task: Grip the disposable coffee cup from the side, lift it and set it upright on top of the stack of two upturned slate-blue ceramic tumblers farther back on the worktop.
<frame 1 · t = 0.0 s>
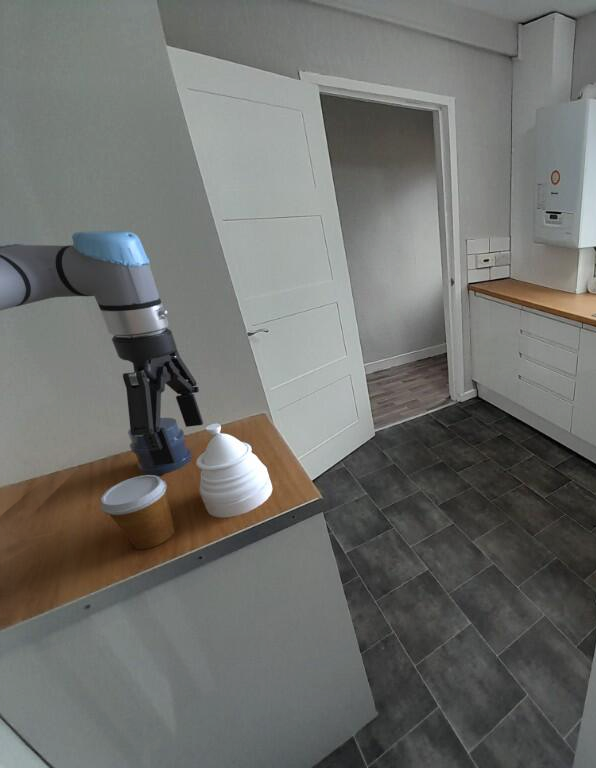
hand: (181, 442, 75), 21 cm above the counter, tool pointing down, fingers open, 13 cm apart
honey pot: (240, 497, 93), on the counter
cup stack: (167, 464, 104), on the counter
disposable coffee cup: (155, 537, 82), on the counter
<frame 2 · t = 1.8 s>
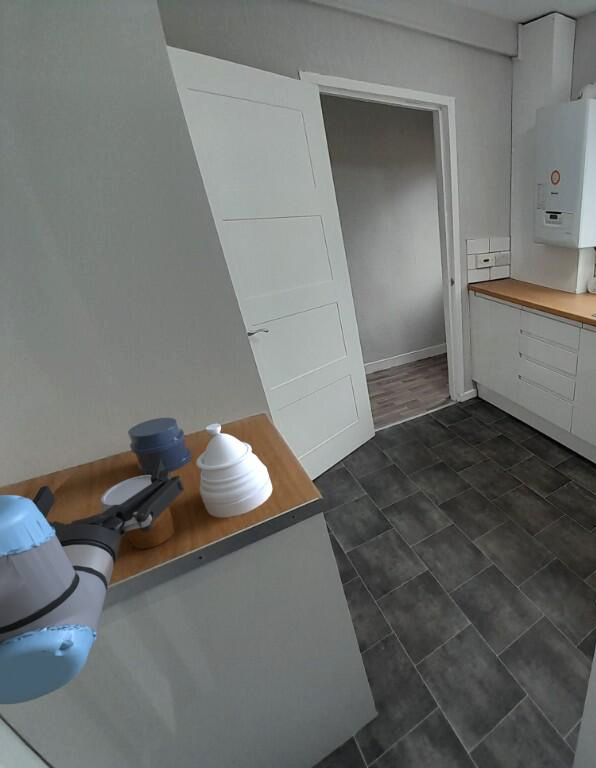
hand: (107, 478, 66), 20 cm above the counter, tool horizontal, fingers open, 13 cm apart
nothing on the counter moved.
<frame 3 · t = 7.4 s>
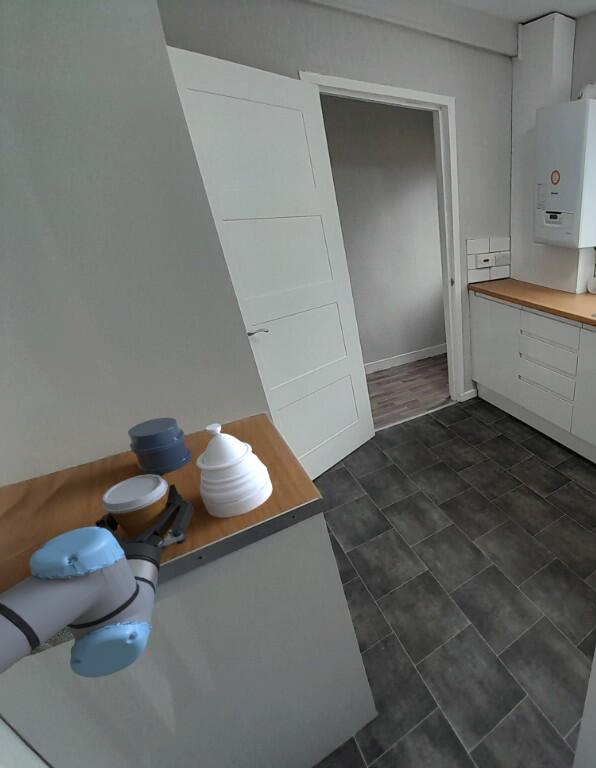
hand: (146, 497, 82), 7 cm above the counter, tool horizontal, fingers closed on disposable coffee cup, 8 cm apart
disposable coffee cup: (155, 537, 82), on the counter, touching gripper
everything else where it was.
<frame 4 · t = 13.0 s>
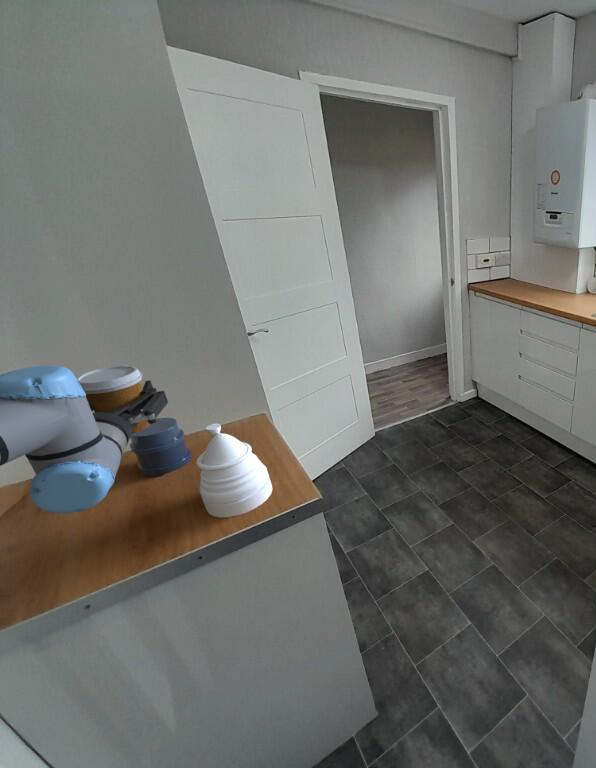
hand: (122, 391, 83), 26 cm above the counter, tool horizontal, fingers closed on disposable coffee cup, 8 cm apart
disposable coffee cup: (130, 429, 82), point 19 cm above the counter, touching gripper
everything else where it was.
when the fingers open (17 cm above the counter, at t = 18.8 s): disposable coffee cup stays where it is, resting on cup stack.
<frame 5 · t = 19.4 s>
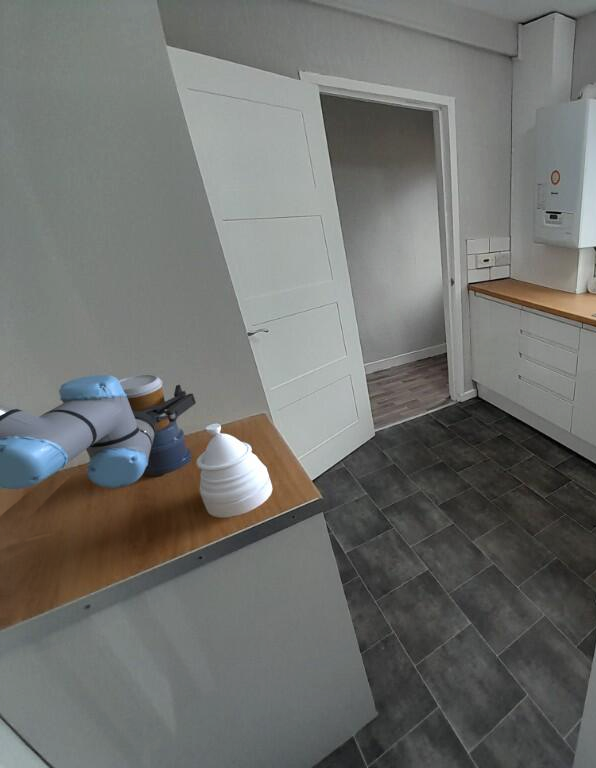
hand: (144, 395, 99), 18 cm above the counter, tool horizontal, fingers open, 13 cm apart
disposable coffee cup: (153, 426, 100), point 11 cm above the counter, touching cup stack
everything else where it was.
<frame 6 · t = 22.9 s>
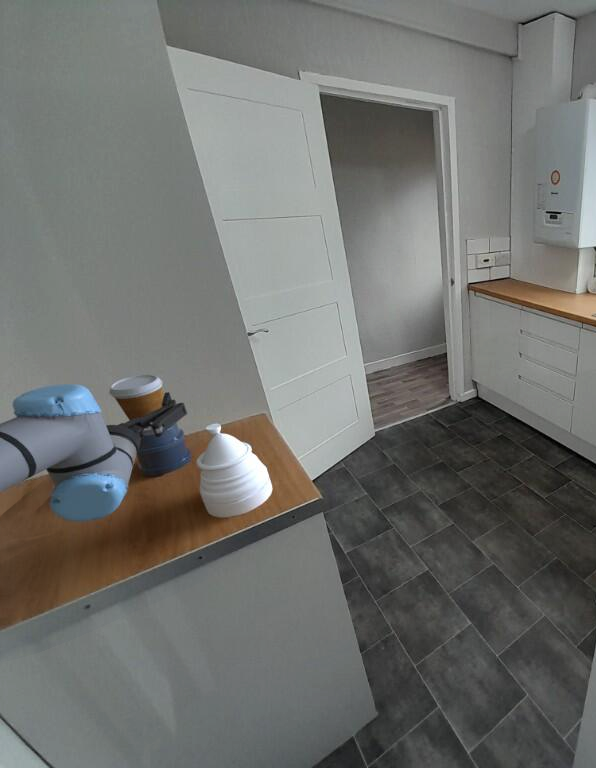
hand: (128, 405, 86), 22 cm above the counter, tool horizontal, fingers open, 13 cm apart
nothing on the counter moved.
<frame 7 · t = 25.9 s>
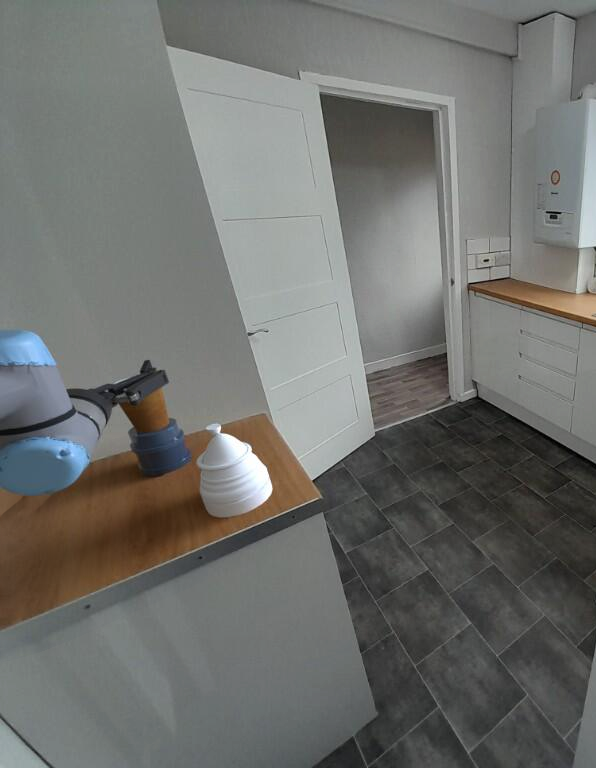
hand: (102, 373, 76), 32 cm above the counter, tool horizontal, fingers open, 13 cm apart
nothing on the counter moved.
at the end: disposable coffee cup 0.1 cm off-centre on the cup stack, point 10.9 cm above the cup stack's base; disposable coffee cup tilted 0°; the gripper is holding nothing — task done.
